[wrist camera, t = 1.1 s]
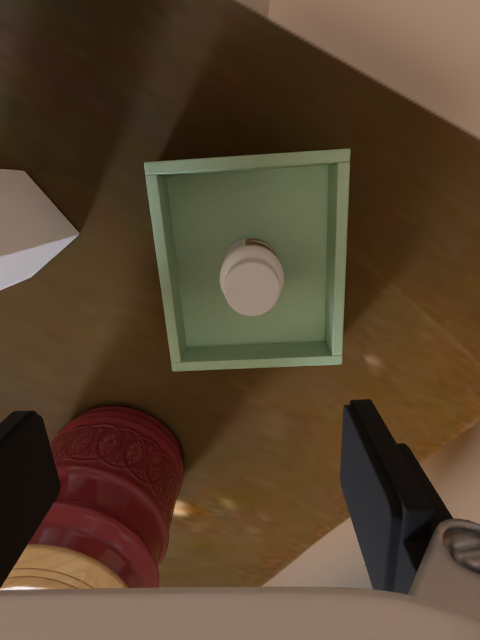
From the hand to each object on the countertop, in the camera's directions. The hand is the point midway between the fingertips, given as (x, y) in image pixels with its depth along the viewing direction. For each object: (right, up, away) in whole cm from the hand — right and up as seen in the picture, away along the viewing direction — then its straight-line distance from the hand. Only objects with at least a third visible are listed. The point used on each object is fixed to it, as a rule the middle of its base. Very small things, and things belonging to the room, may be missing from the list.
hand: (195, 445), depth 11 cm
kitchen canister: (-11, -10, +26) cm, 29 cm away
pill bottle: (+2, +8, +18) cm, 20 cm away
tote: (+2, +8, +18) cm, 20 cm away
